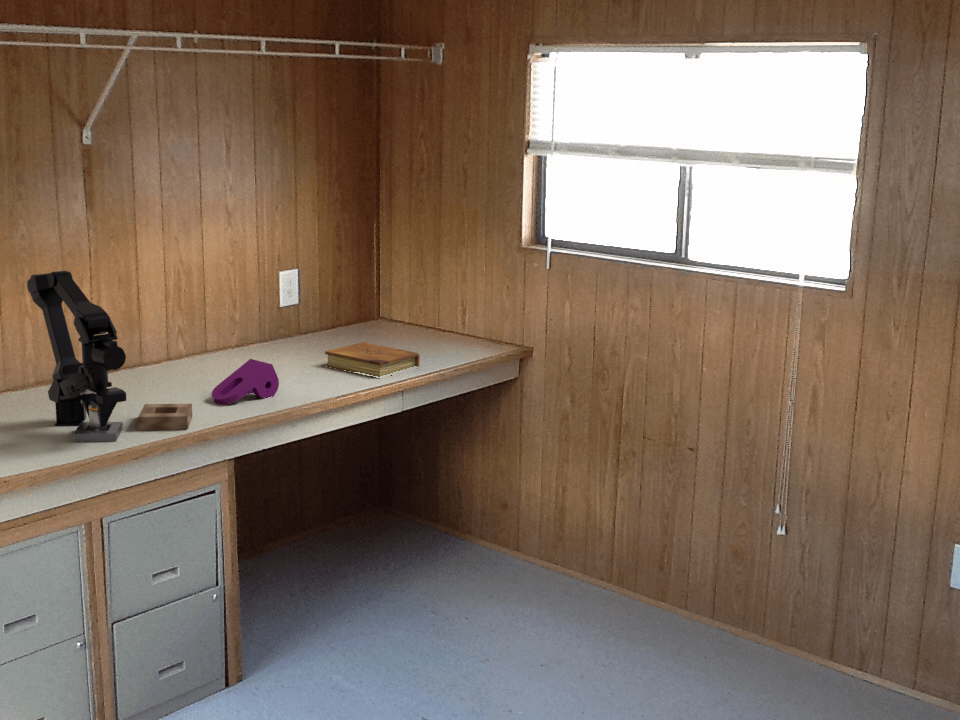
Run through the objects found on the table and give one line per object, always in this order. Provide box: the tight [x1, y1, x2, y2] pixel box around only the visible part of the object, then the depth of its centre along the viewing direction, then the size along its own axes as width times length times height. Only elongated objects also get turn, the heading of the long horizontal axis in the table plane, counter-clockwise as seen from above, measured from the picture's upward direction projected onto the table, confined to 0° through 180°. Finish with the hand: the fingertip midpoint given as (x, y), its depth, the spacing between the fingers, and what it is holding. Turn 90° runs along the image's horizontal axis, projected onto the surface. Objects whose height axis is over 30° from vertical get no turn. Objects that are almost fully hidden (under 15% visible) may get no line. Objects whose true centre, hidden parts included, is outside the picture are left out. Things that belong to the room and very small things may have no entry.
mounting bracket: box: [211, 358, 280, 406], centre depth 318 cm, size 10×8×18 cm
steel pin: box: [88, 403, 107, 431], centre depth 279 cm, size 4×4×8 cm
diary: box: [324, 342, 421, 377], centre depth 357 cm, size 23×19×6 cm
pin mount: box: [72, 421, 124, 443], centre depth 280 cm, size 10×10×2 cm
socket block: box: [137, 403, 193, 431], centre depth 292 cm, size 12×12×4 cm
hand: (98, 423), depth 280 cm, fingers open, 5 cm apart
